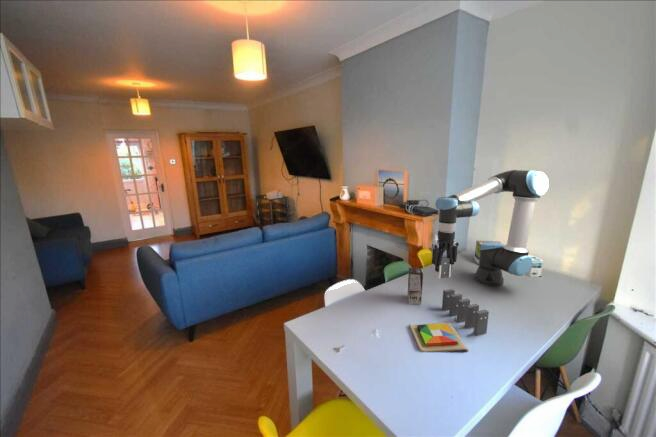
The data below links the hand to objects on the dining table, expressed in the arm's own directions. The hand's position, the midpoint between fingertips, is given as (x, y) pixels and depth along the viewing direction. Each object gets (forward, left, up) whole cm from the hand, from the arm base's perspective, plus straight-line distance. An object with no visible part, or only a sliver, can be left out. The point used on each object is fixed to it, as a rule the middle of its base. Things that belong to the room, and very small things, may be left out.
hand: (442, 276), depth 140 cm
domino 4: (0, +15, -15) cm, 21 cm away
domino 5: (0, +20, -15) cm, 25 cm away
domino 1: (0, 0, 0) cm, 0 cm away
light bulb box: (-76, -14, -15) cm, 79 cm away
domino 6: (0, +25, -15) cm, 29 cm away
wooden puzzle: (+19, +22, -16) cm, 33 cm away
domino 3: (0, +10, -15) cm, 18 cm away
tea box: (-66, -36, -15) cm, 77 cm away
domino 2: (0, +5, -15) cm, 16 cm away
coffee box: (+10, -8, -15) cm, 20 cm away
